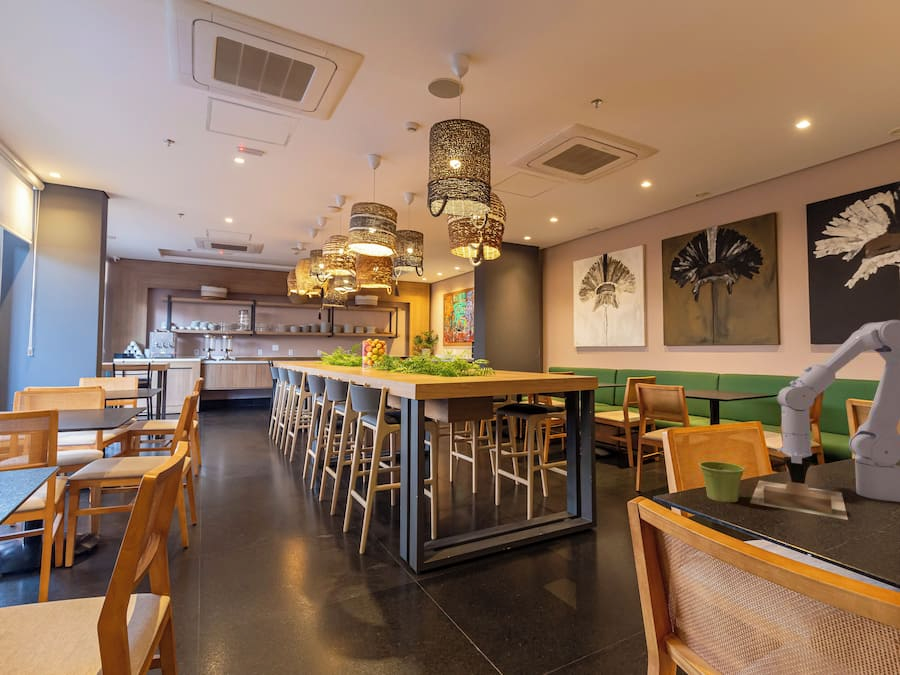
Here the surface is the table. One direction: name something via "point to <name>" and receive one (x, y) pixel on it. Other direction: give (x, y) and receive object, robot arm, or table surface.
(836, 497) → the t board
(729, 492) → the plant pot
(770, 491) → the t block
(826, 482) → the table surface
